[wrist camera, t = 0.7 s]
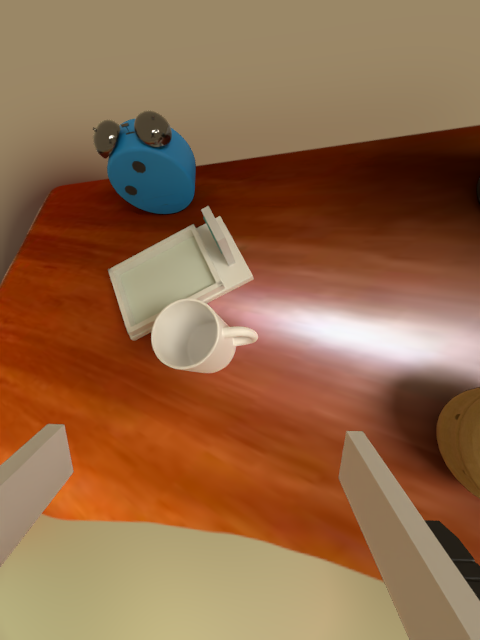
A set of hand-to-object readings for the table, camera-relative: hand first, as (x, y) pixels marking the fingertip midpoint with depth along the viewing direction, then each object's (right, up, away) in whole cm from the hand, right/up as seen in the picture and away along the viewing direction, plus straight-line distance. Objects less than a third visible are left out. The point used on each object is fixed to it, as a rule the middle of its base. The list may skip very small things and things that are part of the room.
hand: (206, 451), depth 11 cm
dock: (-9, +13, +30) cm, 34 cm away
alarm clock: (-11, +28, +35) cm, 46 cm away
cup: (-1, +2, +26) cm, 26 cm away
